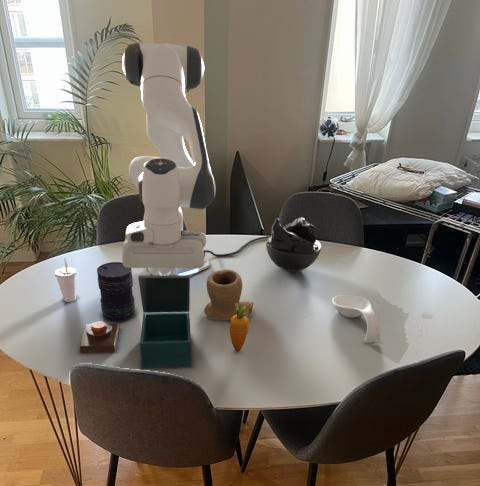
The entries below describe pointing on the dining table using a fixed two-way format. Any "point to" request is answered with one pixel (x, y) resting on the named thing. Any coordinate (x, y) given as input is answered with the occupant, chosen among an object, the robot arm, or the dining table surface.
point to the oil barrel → (116, 291)
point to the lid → (165, 293)
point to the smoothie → (67, 282)
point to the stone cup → (225, 295)
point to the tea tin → (165, 340)
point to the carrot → (239, 328)
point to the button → (98, 327)
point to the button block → (99, 339)
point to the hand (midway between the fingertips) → (164, 281)
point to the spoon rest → (359, 313)
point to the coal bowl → (293, 245)
